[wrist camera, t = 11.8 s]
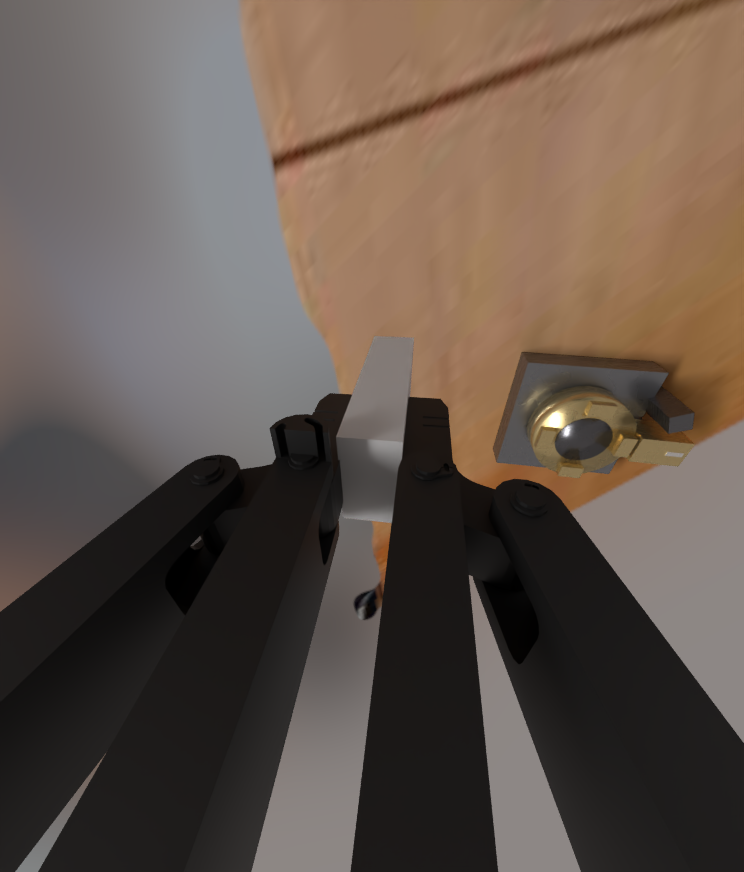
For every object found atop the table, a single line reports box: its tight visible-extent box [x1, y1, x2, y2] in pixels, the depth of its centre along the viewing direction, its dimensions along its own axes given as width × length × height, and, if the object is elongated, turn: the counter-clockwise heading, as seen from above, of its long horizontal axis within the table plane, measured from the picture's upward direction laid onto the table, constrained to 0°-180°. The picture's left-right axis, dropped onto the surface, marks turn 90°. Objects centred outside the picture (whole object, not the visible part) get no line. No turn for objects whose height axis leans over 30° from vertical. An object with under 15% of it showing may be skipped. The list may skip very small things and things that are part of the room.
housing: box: [493, 352, 694, 474], centre depth 39 cm, size 14×16×7 cm
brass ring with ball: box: [527, 386, 695, 478], centre depth 37 cm, size 15×10×4 cm, turn 88°
